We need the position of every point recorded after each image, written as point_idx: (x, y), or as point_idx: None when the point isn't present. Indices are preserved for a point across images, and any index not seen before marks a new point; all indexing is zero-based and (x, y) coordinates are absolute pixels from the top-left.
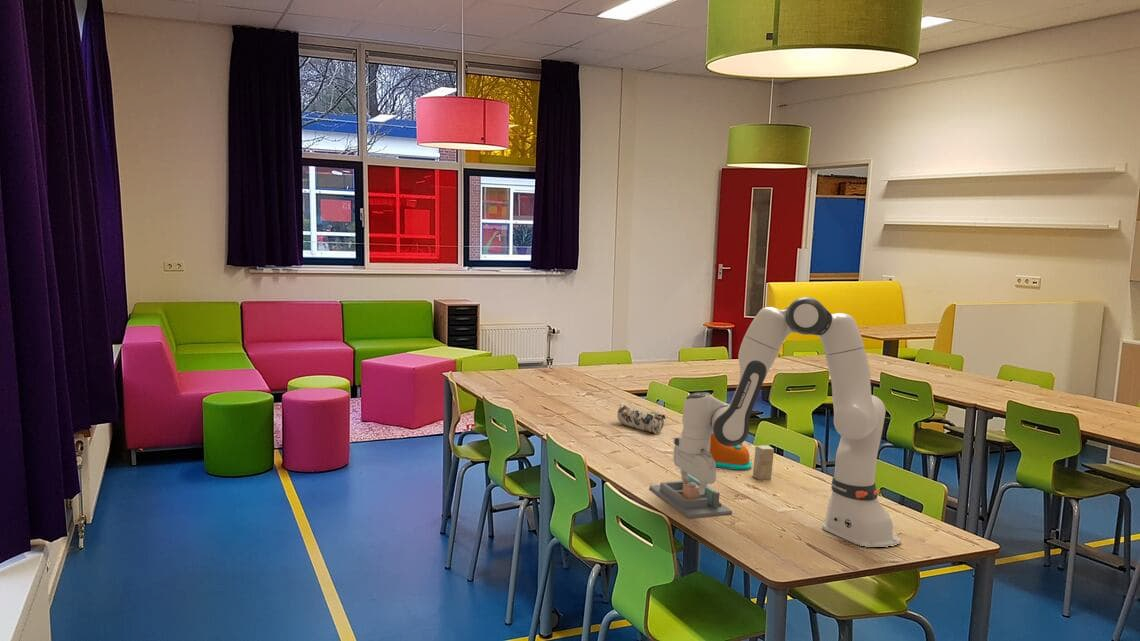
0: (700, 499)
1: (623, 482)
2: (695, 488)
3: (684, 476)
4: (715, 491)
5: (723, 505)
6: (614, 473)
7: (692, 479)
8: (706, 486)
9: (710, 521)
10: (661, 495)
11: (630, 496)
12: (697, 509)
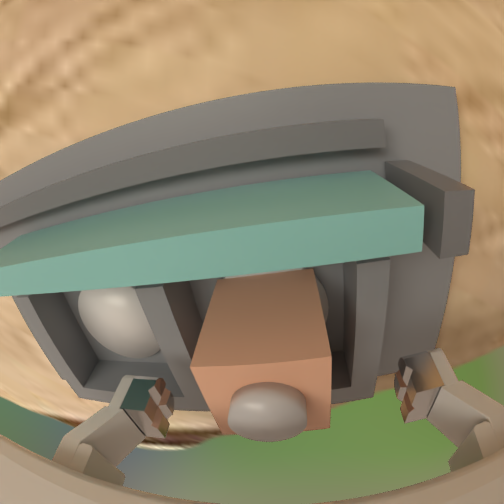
0: (378, 317)
1: (49, 402)
2: (330, 396)
3: (129, 438)
4: (423, 212)
5: (356, 89)
6: (3, 384)
7: (32, 289)
8: (239, 257)
9: (489, 268)
10: None
11: (163, 440)
12: (390, 308)
